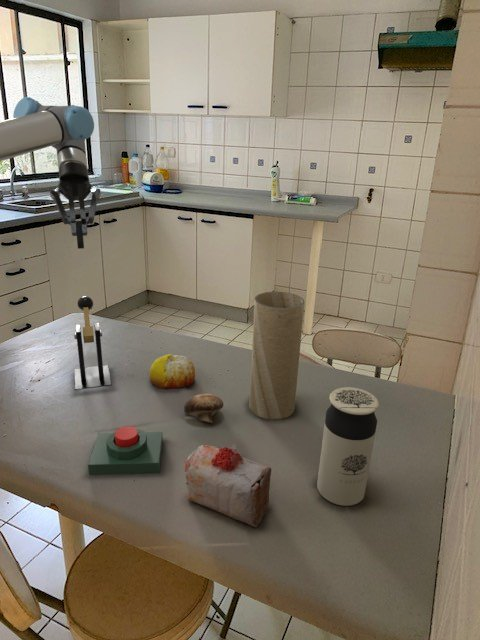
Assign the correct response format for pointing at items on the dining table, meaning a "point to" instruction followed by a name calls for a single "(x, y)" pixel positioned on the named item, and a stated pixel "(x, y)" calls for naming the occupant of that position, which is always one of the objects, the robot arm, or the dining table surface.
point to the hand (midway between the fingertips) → (80, 245)
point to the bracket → (91, 375)
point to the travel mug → (347, 445)
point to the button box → (126, 454)
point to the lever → (86, 318)
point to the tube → (275, 353)
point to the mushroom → (203, 406)
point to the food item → (228, 483)
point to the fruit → (172, 372)
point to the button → (126, 436)
